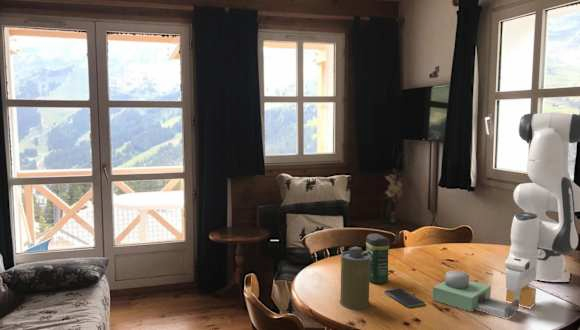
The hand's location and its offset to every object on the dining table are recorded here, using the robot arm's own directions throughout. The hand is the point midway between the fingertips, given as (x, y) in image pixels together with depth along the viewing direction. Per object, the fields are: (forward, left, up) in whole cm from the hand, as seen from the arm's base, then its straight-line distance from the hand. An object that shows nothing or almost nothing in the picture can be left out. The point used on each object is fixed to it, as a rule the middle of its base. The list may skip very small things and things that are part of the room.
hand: (520, 297), depth 162 cm
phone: (+26, -31, -3) cm, 41 cm away
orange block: (0, 0, -2) cm, 2 cm away
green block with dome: (+12, -16, -2) cm, 20 cm away
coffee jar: (+17, -49, -2) cm, 52 cm away
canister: (+42, -41, -2) cm, 59 cm away
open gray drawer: (+12, -4, -2) cm, 13 cm away
